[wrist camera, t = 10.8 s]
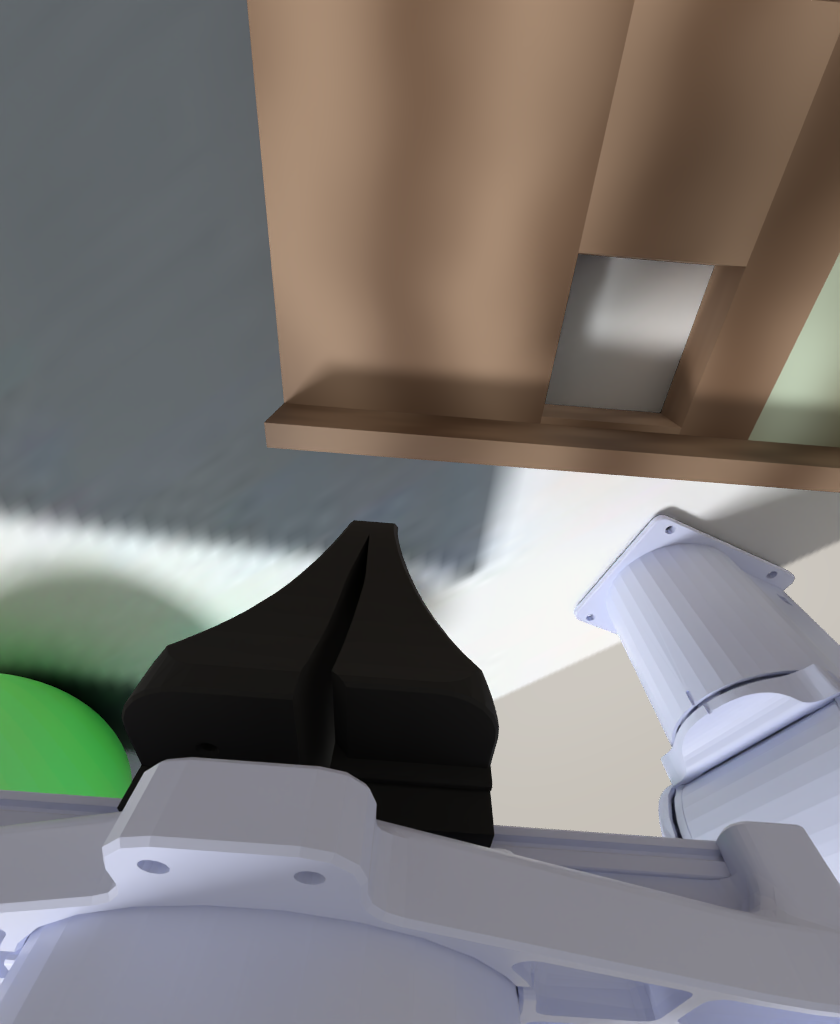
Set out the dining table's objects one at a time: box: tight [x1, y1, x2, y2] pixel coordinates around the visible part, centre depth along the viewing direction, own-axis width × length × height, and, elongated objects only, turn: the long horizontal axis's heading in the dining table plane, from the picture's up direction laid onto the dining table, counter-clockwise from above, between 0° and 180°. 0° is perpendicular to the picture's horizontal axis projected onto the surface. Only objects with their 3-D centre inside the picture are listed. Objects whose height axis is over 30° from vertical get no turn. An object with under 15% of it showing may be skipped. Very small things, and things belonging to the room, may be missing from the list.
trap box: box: [247, 0, 840, 492], centre depth 13 cm, size 28×21×5 cm
